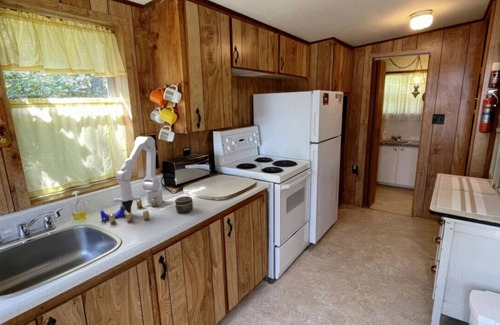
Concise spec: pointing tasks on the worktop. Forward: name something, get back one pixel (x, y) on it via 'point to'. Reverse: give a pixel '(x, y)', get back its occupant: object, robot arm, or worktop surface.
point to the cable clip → (117, 215)
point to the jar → (184, 205)
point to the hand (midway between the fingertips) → (129, 212)
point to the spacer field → (129, 214)
